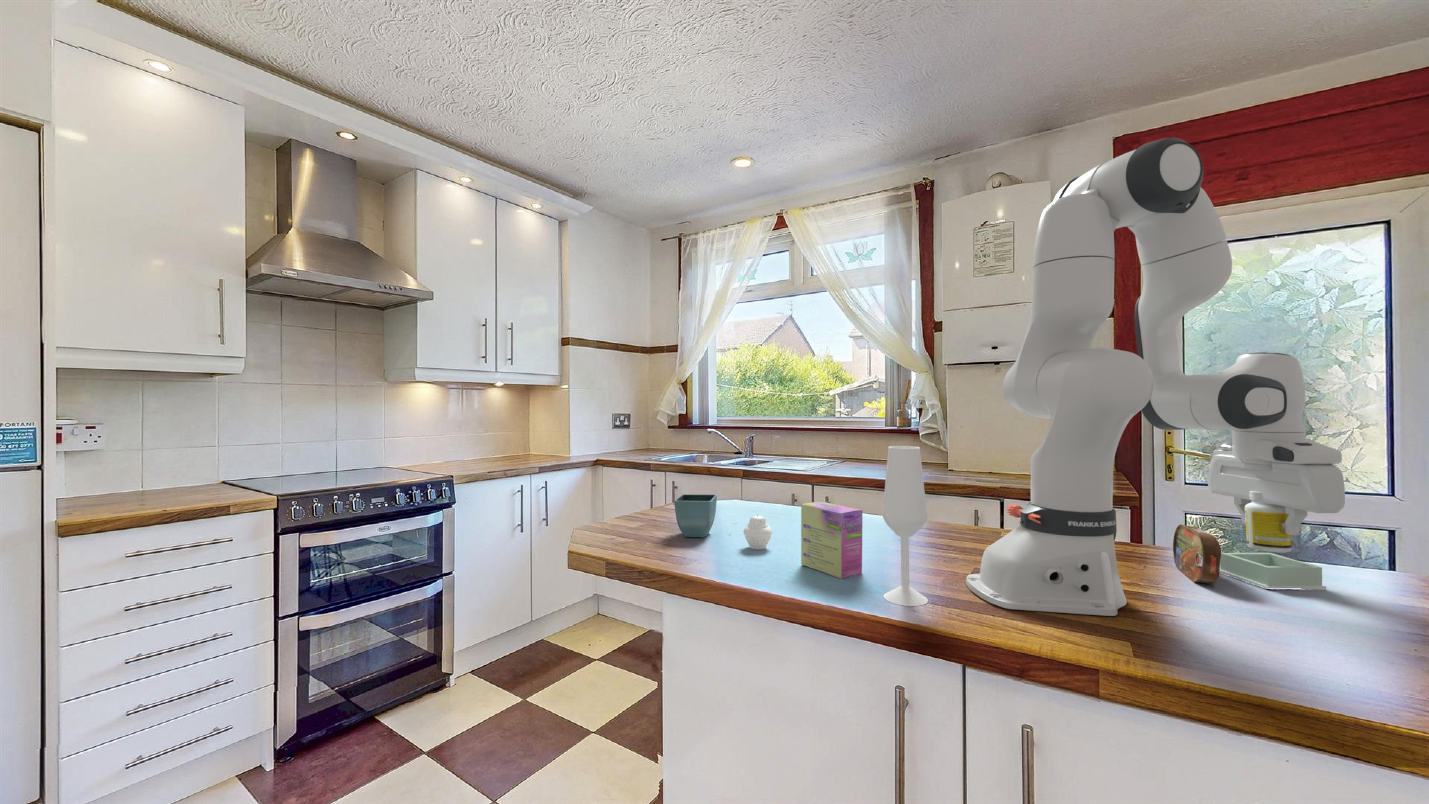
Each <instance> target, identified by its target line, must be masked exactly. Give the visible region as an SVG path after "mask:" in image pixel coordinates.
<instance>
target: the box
mask: <svg viewBox="0 0 1429 804" xmlns="http://www.w3.org/2000/svg"><path fill="white" fill-rule="evenodd" d="M800 509H801V510H800V516H801V517H800V518H801V519H800V522H801V523H800V524H801V525H800V527H801V528H800V529H801V530H800V542H801V543H800V549H801V550H800V551H801V553H800V554H801V555H800V558H801V559H800V561H801V562H800V564H801V565H802V566H806V567H807V568H808V567H809V568H811V569H813V570H817V571H820V572H823V573H825V574H828V575H830V576H832V577H835V578H838V579H841V580H843V579H847V578H851V577H855V576H859V575H862V574H863V510H862V509H861V508H860V509H858V508H855V507H849V506H846V505H840V504H835V503H832V502H831V503H830V502H826V501H823V500H822V501H821V500H819V501H814V502H813V501H812V502H807V503H802V504H801V505H800Z"/></svg>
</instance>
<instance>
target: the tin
mask: <svg viewBox="0 0 1429 804" xmlns="http://www.w3.org/2000/svg"><path fill="white" fill-rule="evenodd" d="M1172 552H1173V553H1172V554H1173V561H1174V564H1175V567H1176V568H1177V570H1178V571H1179V572H1181V573H1182V574H1183V575H1184V574H1185V575H1184V576H1186V578H1188V579H1189V580H1190V581H1191V582H1193V583H1202V584H1209V585H1211V584H1215V583H1217V581H1218V580H1219V578H1220V576H1221V575H1220V572H1219V570H1220V558H1221V553H1222V550H1221V545H1220V543H1219V541H1218V539H1217V537H1215V536H1214V535H1212V534H1210V533H1208V532H1207V531H1205V530H1203V529H1202V528H1199V527H1197V526H1191V525H1185V524H1183V523H1182V524H1178V525H1177V527H1176V528H1175V530H1174V534H1173V541H1172Z"/></svg>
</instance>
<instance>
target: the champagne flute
mask: <svg viewBox="0 0 1429 804" xmlns="http://www.w3.org/2000/svg"><path fill="white" fill-rule="evenodd" d="M886 459H887V460H886V471H885V482H884V492H883V493H884V494H883V496H884V497H883V503H882V504H883V507H882V517H883V520H884V522H885V523H886V525H887V526H888V527H889V528H890V529H891V530H892V531H893V533H894V534H896V535H897V536H898V537H900V558H901V559H900V562H901V563H900V565H901V566H900V567H901V568H900V570H901V571H900V573H901V574H900V575H901V578H900V580H901V582H900V583H901V584H900V586H898V587H896V588H894V589H891V590H890V591H888V592H886V593H884V594H883V598H884V600H886V601H887V602H888V603H891V604H894V605H898V606H903V607H904V606H905V607H919V606H923V605H926V604H927V603H928V602H929V600H928V598H927V597H926V596H924V595H923V594H921V593H920V592H918V591H917V590H916V589H914V588H912V587H911V586H910V543H909V541H910V538H911V537H912V536H914V535H916V534H917V533H918V532H919V531H920V530H921V529H922V528H924V527H923V526H924V525H926V522H927V520H928V510H927V504H926V503H927V500H926V492H925V483H924V482H925V481H924V475H923V474H924V473H923V465H922V456H921V448H920V447H919V446H910V445H892V446H891V445H890V446H888V449H887V457H886Z"/></svg>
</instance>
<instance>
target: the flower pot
mask: <svg viewBox="0 0 1429 804" xmlns="http://www.w3.org/2000/svg"><path fill="white" fill-rule="evenodd" d="M717 497H718V495H717V494H707V493H706V494H695V493H694V494H692V493H691V494H686V493H685V494H684V493H683V494H681V495H680V496H678V497H677V498H676V499H674V500H673V504H674V512H675V519H676V522H677V526H678V529H679V530H680V532H681V534H682V536H684V538H703V539H704V538H706V537H707V536H708V534H709V533H710V531H711V529H712V526H713V525H714V521H715V518H716V511H717V501H718V500H717Z"/></svg>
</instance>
